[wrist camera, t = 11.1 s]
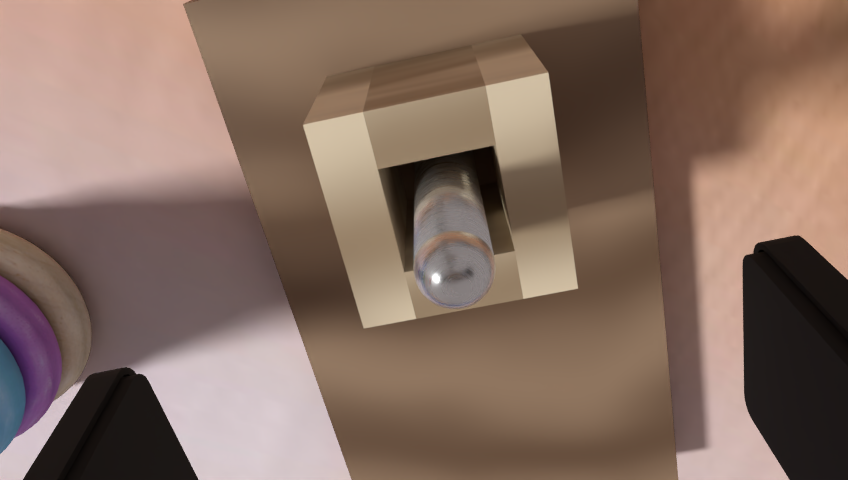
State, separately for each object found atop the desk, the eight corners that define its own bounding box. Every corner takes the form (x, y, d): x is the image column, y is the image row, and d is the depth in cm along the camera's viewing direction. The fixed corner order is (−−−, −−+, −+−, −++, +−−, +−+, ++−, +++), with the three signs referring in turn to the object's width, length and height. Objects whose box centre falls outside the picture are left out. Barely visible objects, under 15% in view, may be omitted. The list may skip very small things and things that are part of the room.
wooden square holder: (326, 76, 22) (302, 124, 17) (520, 34, 21) (548, 72, 17) (373, 247, 24) (363, 328, 20) (547, 214, 24) (577, 288, 19)
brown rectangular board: (197, -3, 22) (183, 4, 21) (615, -103, 21) (629, -103, 20) (371, 504, 32) (370, 531, 30) (666, 454, 30) (678, 480, 29)
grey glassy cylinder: (409, 128, 22) (404, 259, 15) (465, 116, 22) (491, 241, 14) (421, 180, 23) (423, 332, 15) (475, 169, 23) (506, 316, 15)
